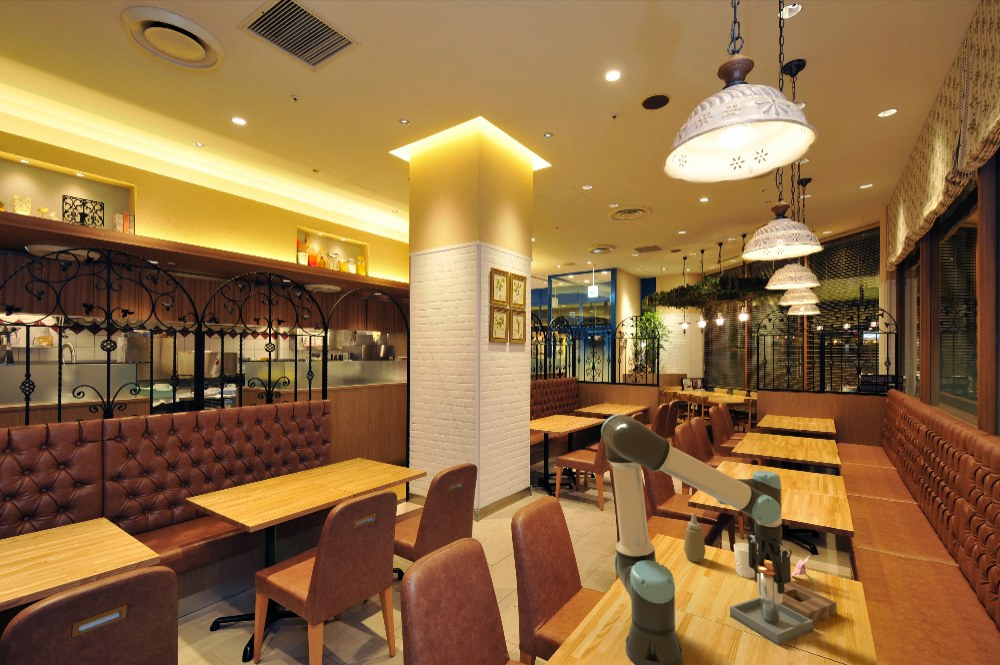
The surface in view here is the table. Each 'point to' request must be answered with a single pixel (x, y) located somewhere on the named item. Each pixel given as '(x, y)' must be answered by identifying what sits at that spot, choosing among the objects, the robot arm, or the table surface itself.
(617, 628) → the table surface
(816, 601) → the socket block
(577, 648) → the table surface
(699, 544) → the squeeze bottle
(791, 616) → the tray
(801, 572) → the lily
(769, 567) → the copper-capped cylinder
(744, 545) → the white cup
